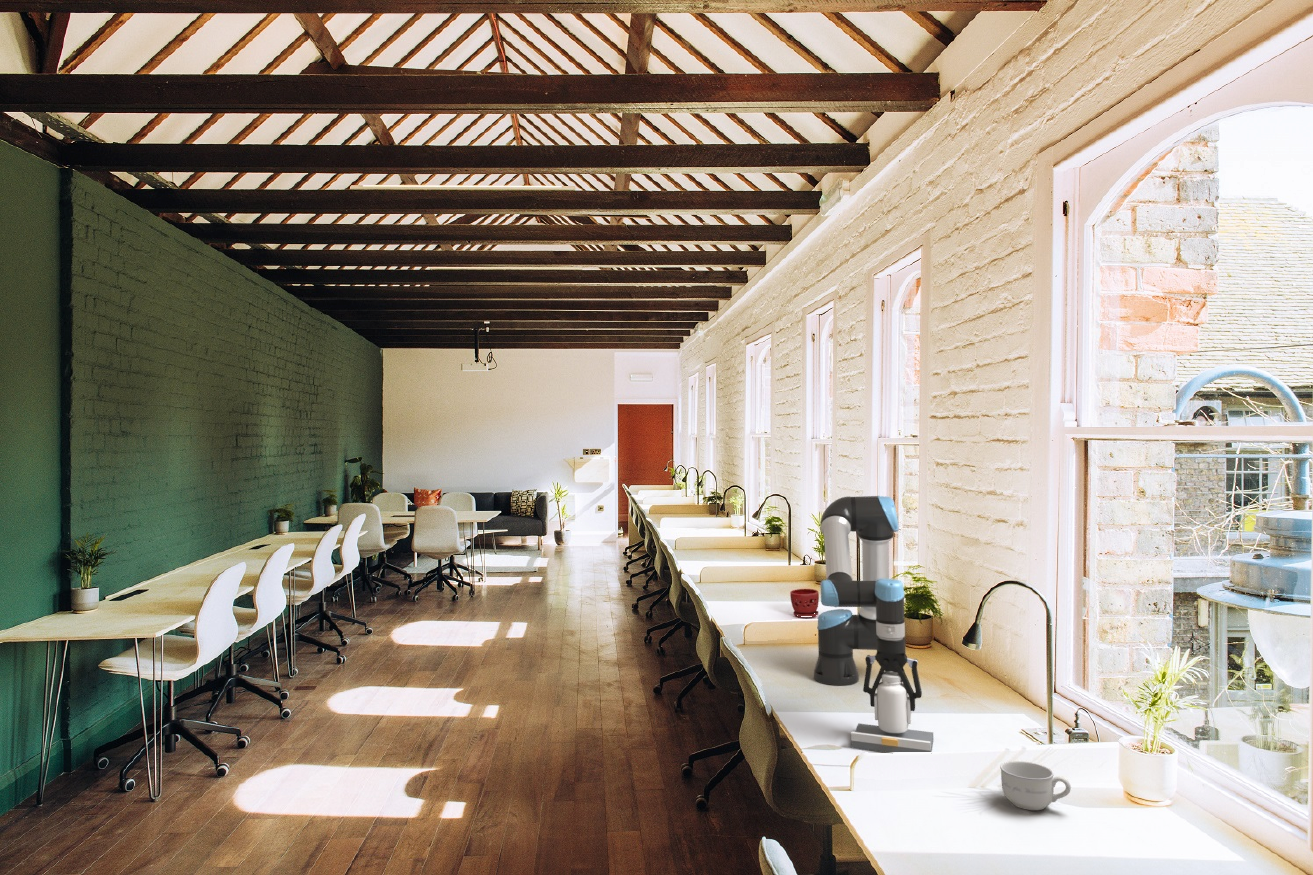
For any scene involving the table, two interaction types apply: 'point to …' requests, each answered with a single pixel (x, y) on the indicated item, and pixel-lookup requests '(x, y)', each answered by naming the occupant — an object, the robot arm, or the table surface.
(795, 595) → the plant pot
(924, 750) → the shelf
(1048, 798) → the teacup
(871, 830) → the table surface
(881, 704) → the pill bottle
